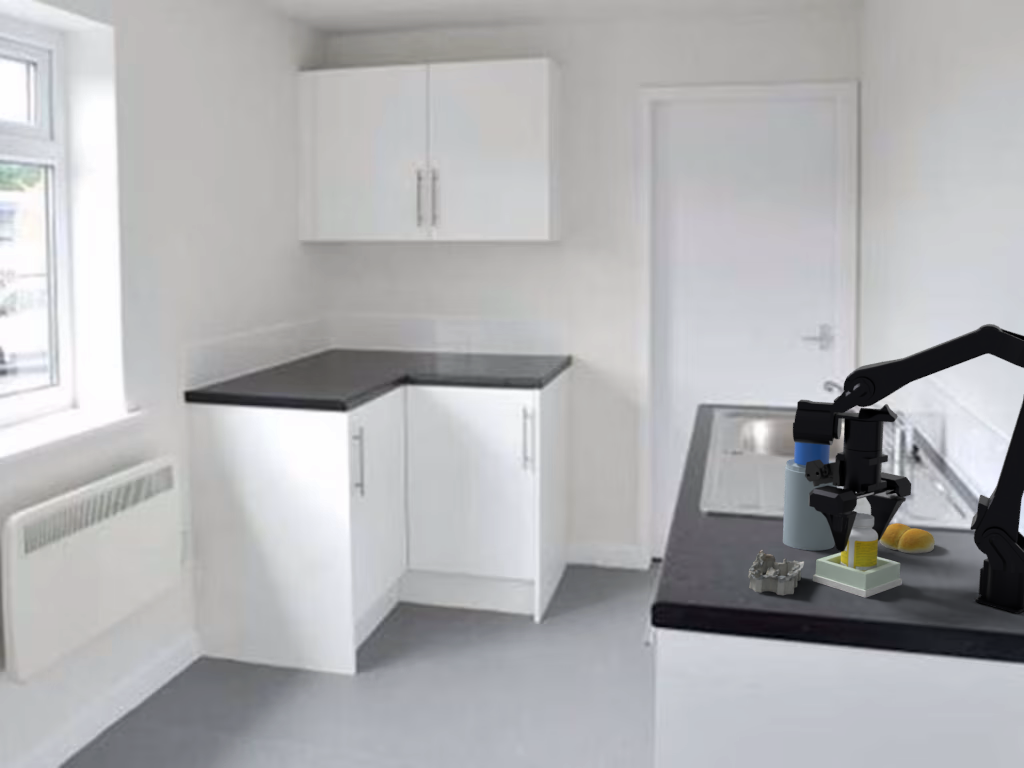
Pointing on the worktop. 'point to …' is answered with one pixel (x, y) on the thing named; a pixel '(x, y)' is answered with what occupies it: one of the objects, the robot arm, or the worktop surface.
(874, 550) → the supplement bottle
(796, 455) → the spray bottle
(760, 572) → the egg carton
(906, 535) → the bread roll
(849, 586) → the socket block
